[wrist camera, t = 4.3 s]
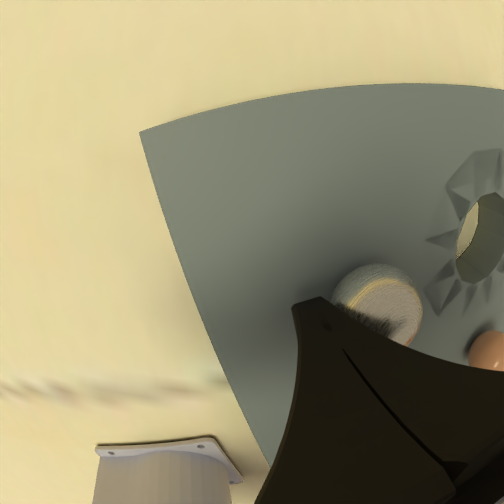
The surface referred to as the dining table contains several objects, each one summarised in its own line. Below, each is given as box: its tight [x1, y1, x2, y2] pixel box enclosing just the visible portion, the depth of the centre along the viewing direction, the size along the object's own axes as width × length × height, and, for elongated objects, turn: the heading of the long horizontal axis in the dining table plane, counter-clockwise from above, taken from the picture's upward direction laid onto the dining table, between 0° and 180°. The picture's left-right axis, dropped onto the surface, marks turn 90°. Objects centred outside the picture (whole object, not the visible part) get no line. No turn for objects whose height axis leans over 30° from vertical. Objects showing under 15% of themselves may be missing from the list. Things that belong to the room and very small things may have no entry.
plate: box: [139, 83, 504, 468], centre depth 13 cm, size 18×20×2 cm
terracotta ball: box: [468, 330, 504, 371], centre depth 12 cm, size 3×3×3 cm
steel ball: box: [330, 263, 423, 347], centre depth 9 cm, size 3×3×3 cm
